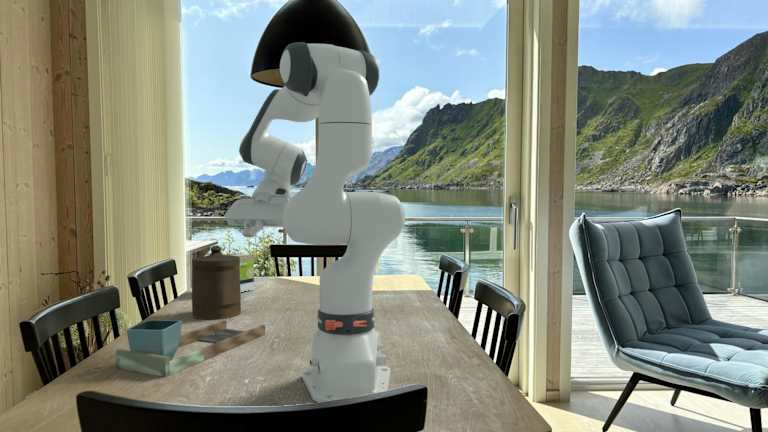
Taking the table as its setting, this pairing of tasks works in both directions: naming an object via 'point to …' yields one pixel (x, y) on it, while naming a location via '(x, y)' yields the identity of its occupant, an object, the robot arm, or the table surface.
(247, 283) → the tea box
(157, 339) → the flower pot
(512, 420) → the table surface
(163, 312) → the table surface
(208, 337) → the channel
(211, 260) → the wooden container
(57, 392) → the table surface
